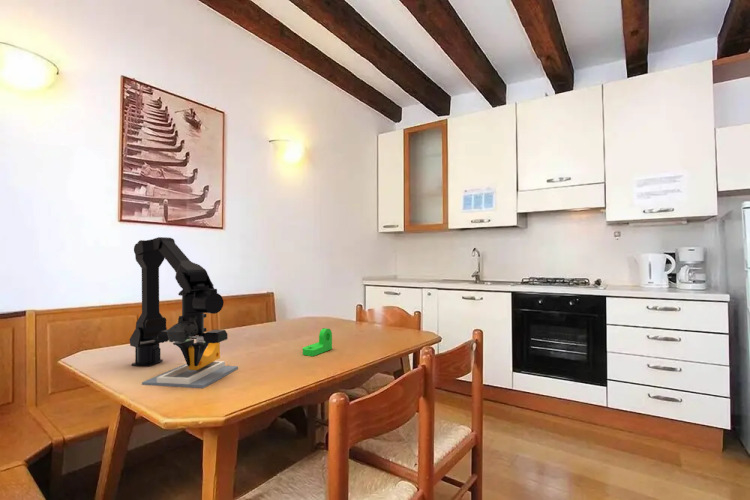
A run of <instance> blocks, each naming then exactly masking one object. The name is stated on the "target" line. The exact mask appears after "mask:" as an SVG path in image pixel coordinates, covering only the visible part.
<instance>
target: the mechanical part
mask: <svg viewBox="0 0 750 500" xmlns="http://www.w3.org/2000/svg"><path fill="white" fill-rule="evenodd" d="M332 349H333V332H332V330H331V329H330V328H327V327H326V328H322V329H321V330H320V332H319V335H318V342H315V343H312V344H310V345H309V344H308V345H305V346H304V347H302V355H303V356H309V357H315V356H317V355H320V354H323V353H326V352H328V351H329V350H332Z"/></svg>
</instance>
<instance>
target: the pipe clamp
mask: <svg viewBox="0 0 750 500" xmlns="http://www.w3.org/2000/svg"><path fill="white" fill-rule="evenodd" d="M220 347H221V342H219V343H209V344H208V346H207V348H206V349H205V351H204V353H203V355H202V358H201V360H200V362H199V364H198V366H195V365H194V347H193V346H191V347H189V357H190V366H189V370H198V369H200V368H202V367H204V366H206V365H208V364H210V363H212V362H213V361H218V360H219V359H221V348H220Z"/></svg>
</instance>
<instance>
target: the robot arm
mask: <svg viewBox="0 0 750 500" xmlns="http://www.w3.org/2000/svg"><path fill="white" fill-rule="evenodd" d="M133 252H134V255H135V258H134V259H135V261H136V262H137V264H138V266H140V269H141V314H140V316H139V317H138V319H137V320H136V322H135V329H134V331H133V333H132V335H131V336H130V338H129V344H130V345H129V346H130V347H133V348H135V354H134V355H135V360H134V361H135V362H132V363H131V366H141V367H150V366H153V365H156V364H159V363H160V362H161V363H162V362H163V361H164V359H161V348H160V344H162V343H167V342H169V343H172V344H173V346H176V347H178V348H179V349H180V351H181V353H182V356H183V357H184V361H185V364H187V365H188V366H190V357H189V347H191V346H193V347H194V365H195V366H198V364H199V362H200V360H201V358H202V355H203V353H204V351H205V349H206V348H207V347H208V344H209V343H219V342H220V343H221V342H224V341H226V340H228V332H227V331H226V329H212V330H210V331H207V327H204V326H205V325H204V324H205V322H204V321H205V320H204V319H205V318H207V314H213V315H215V314H218V313H219V312H221V310H222V309H223V307H224V302H225V301H224V298H223V297H222V295H221V294H219V292H218V289H217V288H214V284H213V282H212V281H211V277H210V276H209V274H208V271H207V270H206V269H205V268H204V267H203V266H202V265H200V264H198V263H195V262H193V261H191V260H190V259H189V258H188V256H187V255H185V253H184V252H183V250H182V249H180V247H179V246H178V245H177V244H176V241H175V239H174V238H172V237H164V236H163V237H161V236H158V237H155V238H152V239H148V240H145V239H143V240H141V239H140V240H138V242H137V243H135V244H134V246H133ZM165 260H166V261H167V263H168V264H169V266H171V267H172V269H173V270H174V272H175V276H174V279H175V281H176V282H177V284H178V286H179V287H180V289H181V290H180V291H179V292H178V293H177V294H178V296H180V297H181V315H179V316H178V318H177V320H178V321H177V323H175V324H173V325H172V326H170V328H168V329H167V318H166V317H164V316H163V315H162V314H161V312H160V267H161V266H162V263H163V262H164V261H165ZM195 340H196V341H195Z"/></svg>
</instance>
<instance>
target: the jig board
mask: <svg viewBox="0 0 750 500" xmlns="http://www.w3.org/2000/svg"><path fill="white" fill-rule="evenodd" d="M238 369H239V366H237V365H226V362H225V360H222V361H221V360H215V361H213V362H212V363H210V364H208V365H206V366H204V367H202V368H200V369H198V370H189V366H188V365H187V363H183V364H181V365H179V366H177V367H175V368H172V369H170V370H168V371H165V372H162V373H161V374H158V375H157V376H154V377H150V378H149V379H146V380H144V381H142V382H141V385H143V386H155V387H156V386H157V387H171V388H172V387H173V388H189V389H204V388H206V387H208V386H210V385H212V384H213V383H215V382H217V381H219V380H221V379H222V378H224V377H226V376H228V375H229V374H232V373H233V372H235V371H236V370H238Z"/></svg>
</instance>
